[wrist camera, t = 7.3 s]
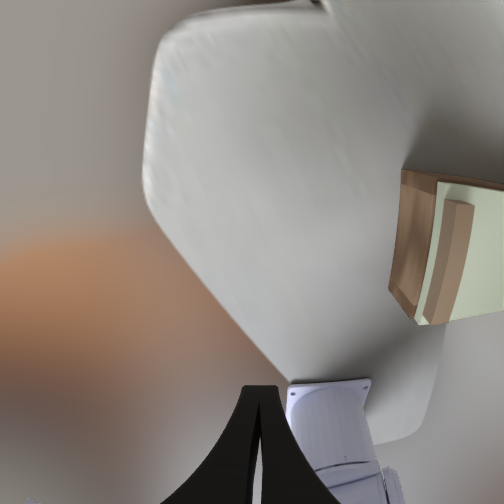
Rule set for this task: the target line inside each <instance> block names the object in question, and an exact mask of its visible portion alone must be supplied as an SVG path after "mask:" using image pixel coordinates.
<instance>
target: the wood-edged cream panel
mask: <svg viewBox="0 0 504 504" xmlns="http://www.w3.org/2000/svg"><path fill="white" fill-rule="evenodd" d="M499 311H504V191H499V190H494V189H488V188H482V187H475V186H468V185H461V184H454V183H446V182H438V184H437V197H436V207H435V216H434V224H433V231H432V238H431V245H430V250H429V256H428V262H427V267H426V272H425V276H424V281H423V285H422V290H421V294H420V298H419V302H418V306H417V310H416V313H415V317H414V319H415V320H416V322H417V323H418V325H426V324H430V325H437V324H444V323H448V322H449V321H452V320H458V319H464V318H469V317H475V316H480V315H484V314H489V313H494V312H499Z"/></svg>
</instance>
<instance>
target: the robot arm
mask: <svg viewBox="0 0 504 504" xmlns="http://www.w3.org/2000/svg"><path fill="white" fill-rule="evenodd" d="M371 384H372V382H371V380H370V379H359V380H350V381H339V382H328V383H313V384H293V385H290V386H289V387H288V393H287V406H286V416H285V413H284V410H283V407H282V404H281V400H280V396H279V391H278V387H277V386H276V385H271V386H270V385H264V386H263V385H262V386H261V385H259V386H258V385H245V386H243V387H242V390H241V394H240V397H239V399H238V402H237V405H236V407H235V409H234V412H233V414H232V416H231V418H230V420H229V422H228V424H227V426H226V428H225V429H224V431H223V433H222V434H221V436H220V438H219V439H218V441H217V443H216V444H215V446H214V447H213V449H212V450H211V451H210V453H209V454H208V456H207V457H206V458H205V460H204V461H203V462H202V464H201V465H200V466H199V467H198V468H197V469H196V470H195V472H194V473H193V474H192V475H191V476H190V477H189V478H188V479H187V480H186V481H185V483H183V484H182V485H181V486H180V487H179V488H178V489H177V490H176V491H175V492H174V493H173V494H171V495H170V496H169V497H168V498H167V499H165V500H164V501H163V502H162V503H160V504H252V498H253V497H252V496H253V481H254V474H255V468H256V461H257V455H258V448H259V440H260V439H261V451H262V466H263V472H262V494H261V495H262V496H261V504H405V500H404V495H403V491H402V487H401V484H400V480H399V477H398V474H397V471H396V470H394V469H390V467H385V468H383V469H382V470H383V474H384V481H383V477H382V473H381V469H380V466H379V463H378V461H377V457H376V454H375V449H374V446H373V442H372V438H371V434H370V431H369V427H368V423H367V420H366V416H365V413H364V409H363V406H364V403H365V401H366V398H367V395H368V392H369V389H370V387H371ZM365 386H366V387H365ZM292 392H294V393H292ZM384 482H385V485H384ZM385 487H386V490H385ZM25 504H39V503H38V502H36V501H34V500H33V499H31V498H30V497H28V498H27V500H26V503H25Z"/></svg>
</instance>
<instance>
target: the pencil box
mask: <svg viewBox="0 0 504 504" xmlns="http://www.w3.org/2000/svg"><path fill="white" fill-rule="evenodd" d="M438 182H446V183H454V184H461V185H468V186H475V187H482V188H488V189H494V190H499V191H504V184H500V183H495V182H490V181H484V180H479V179H473V178H467V177H460V176H454V175H447V174H439V173H431V172H423V171H414V170H404V169H402V172H401V191H400V205H399V216H398V226H397V235H396V243H395V250H394V257H393V264H392V270H391V276H390V282H389V287H388V289H389V291H390V292H391V293H392V295H393V296H394V297H395V299H396V300H397V301H398V303H399V304H400V306H401V307H402V308H403V310H404V311H405V313H406V314H407V315H408V317H409V318H410V319H412V318H414V317H415V313H416V310H417V306H418V302H419V298H420V294H421V290H422V285H423V281H424V276H425V272H426V267H427V262H428V256H429V250H430V245H431V238H432V231H433V224H434V216H435V207H436V197H437V184H438Z"/></svg>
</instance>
